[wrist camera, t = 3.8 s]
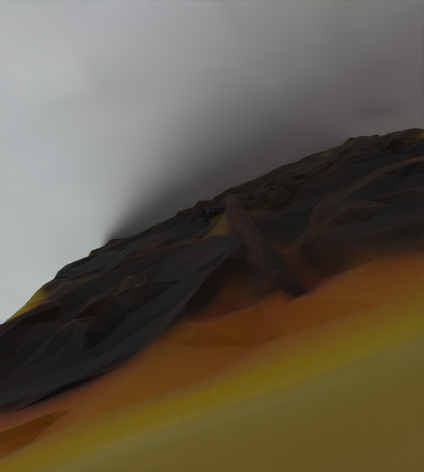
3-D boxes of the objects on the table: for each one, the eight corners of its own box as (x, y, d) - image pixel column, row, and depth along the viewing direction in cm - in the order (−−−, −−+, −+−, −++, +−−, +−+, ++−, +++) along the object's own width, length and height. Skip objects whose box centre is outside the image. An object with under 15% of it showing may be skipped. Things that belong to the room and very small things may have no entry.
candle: (360, 132, 11) (1271, -77, 2) (438, 384, 13) (1080, 1006, 3) (84, 245, 12) (-449, 574, 2) (194, 468, 14) (153, 1169, 4)
